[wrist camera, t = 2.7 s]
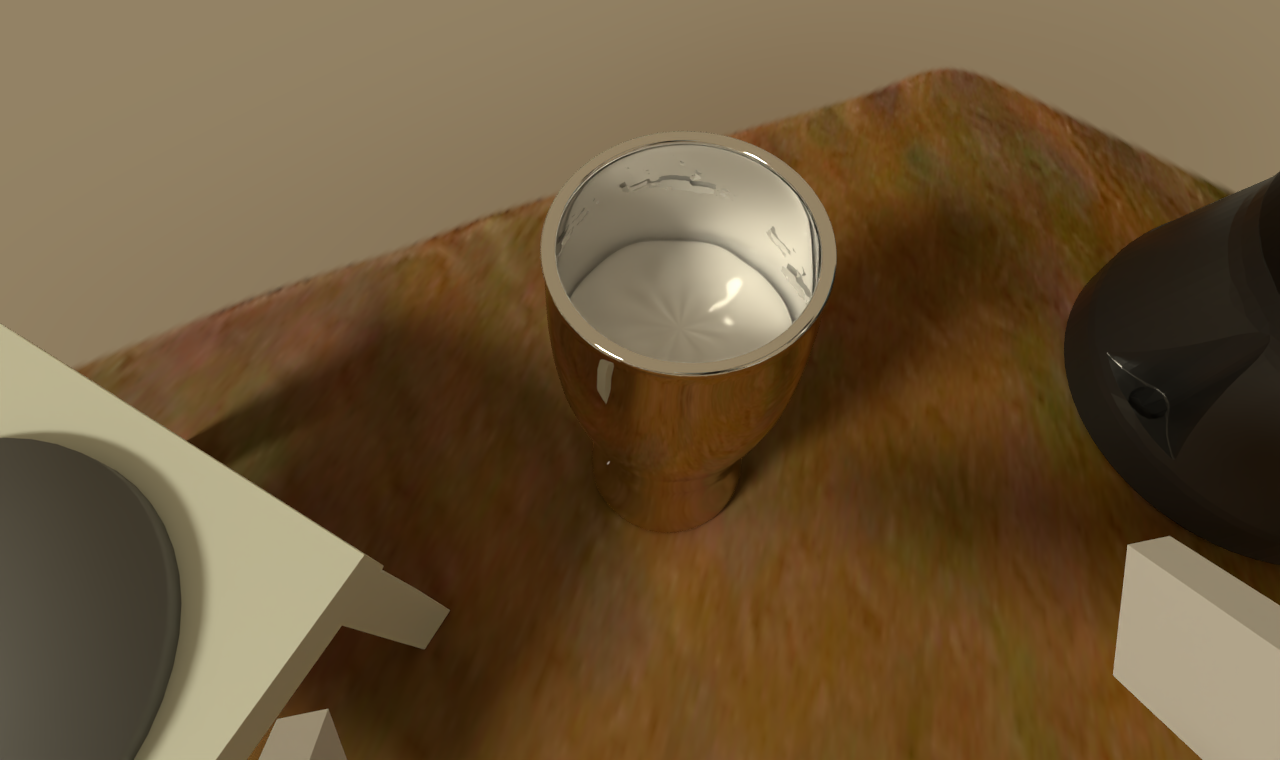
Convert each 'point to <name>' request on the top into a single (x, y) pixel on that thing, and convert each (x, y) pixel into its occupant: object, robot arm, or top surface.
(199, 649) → the stool
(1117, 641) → the robot arm
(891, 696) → the top surface
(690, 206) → the beer glass
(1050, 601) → the top surface
